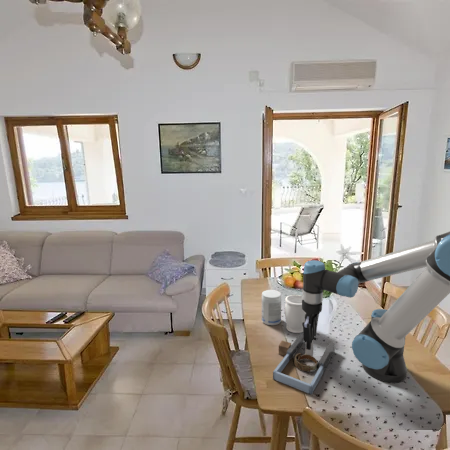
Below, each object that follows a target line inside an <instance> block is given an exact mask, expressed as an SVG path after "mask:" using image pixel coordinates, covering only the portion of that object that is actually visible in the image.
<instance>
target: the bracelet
mask: <svg viewBox="0 0 450 450" xmlns="http://www.w3.org/2000/svg"><path fill="white" fill-rule="evenodd" d="M302 360H309V361H311V362H313V363H314V365H309V364H306V363H305V362H304V363H303V362H301V361H302ZM293 361H294V362H293V364H294V366H295V368H297V369H298V370H299V371H302V372H312V371H316V370H317V368H318V360H317V359H316V358H315V357H314V356H310V355H305V353H304V354H302V353H301V352H299V353H295V355H294V359H293Z"/></svg>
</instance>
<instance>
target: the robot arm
mask: <svg viewBox="0 0 450 450" xmlns="http://www.w3.org/2000/svg"><path fill="white" fill-rule="evenodd" d="M423 268H424V270H422V271H421V273H420V274H419V275H418V276H417V277H416V278H415V279H414V281H412V283H411V284H410V285H409V286H408V287H407V288H406V289H405V290H404V292H402V294H401V295H400V296H399V297H398V298H397V299H396V300H395V301H394V302H393V303H392V304H391V306H390V307H389V308H388V309H385V308H384V309H383V308H382V309H381V308H378V309H374V310H373V311H372V312H371V318H370V319H371V320H370V321H369V322H368V323H367V324H366V325H365V326H364V327H363V329H362V330H361V331H360V332H359V333H358V334H357V335H355V337H354V338H353V340H352V343H351V350H352V352H353V354H354V357H355V358H356V359H357V360H358V362H360V363H361V366H362V369H363V370H364V371H365V372H366V373H367V374H368V375H369V376H371V377H372V378H374V379H376V380H379V381H382V382H386V383H401V382H403V381H405V379H406V378H407V373H408V369H407V365H406V362H405V357H404V353H405V352H404V350H405V345H406V337H407V336H408V335H409V334H410V332H412V331H413V330H414V329H415V328H416V327H417V326H418V325H419V324H420V323H421V322H422V321H423V320H424V319H425V318H426V317H427V316H428V315H429V314H430V313H431V312H432V311H433V310H434V309H435V308H437V306H438V305H440V303H442V301H443V300H444V299H445V298H446V297H447V296H448V295H450V231H448V232H445V233H442V234H439V235H436V236H434V239H433V240H429V241H426V242H423V243H420V244H416V245H413V246H410V247H407V248H403V249H400V250H395V251H392V252H389V253H387V254H383V255H380V256H376V257H372V258H369V259H365V260H362V261H357V262H353V263H350V264H348V265H347V266H345V267H344V268H343V269H342V268H341V270H339V271H337V272H336V271H332V270H330V269H329V270H328V269H326V266H325V263H324V262H322V261H321V260H317V259H316V260H315V259H313V260H307V261H306V262H305V263H304V265H303V272H302V273H303V280H302V281H303V283H302V289H301V293H302V296H303V297H302V298H303V300H302V309H303V311H305V312H306V314H305V322H303V323H302V325H303V332H302V333H303V336H304V339H303V340H304V341H303V343H305V349H304V351H305V352H304V354H305V355H310V356H313V355H314V344H315V341H317V337H316V336H317V330H318V323H319V316H320V313H322V310H323V302H324V301H323V300H324V299H323V297H324V291H326V292H329V293H333V294H336V295H338V296H340V297H345V298H353V297H355V296H356V294H357V293H358V290H359V284H362V283H367V282H370V281H374V280H379V279H383V278H387V277H390V276H393V275H398V274H402V273H406V272H407V273H408V272H410V271H415V270H418V269H423ZM313 357H314V356H313Z"/></svg>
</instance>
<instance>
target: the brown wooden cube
mask: <svg viewBox="0 0 450 450" xmlns="http://www.w3.org/2000/svg"><path fill="white" fill-rule="evenodd" d="M291 345H292V343H291V342H289V341H286V340H281V341H280V343H279V345H278V355H281V356H284V357H285V356H286V354H287V350H288V349H289V348H290V347H291Z"/></svg>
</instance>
